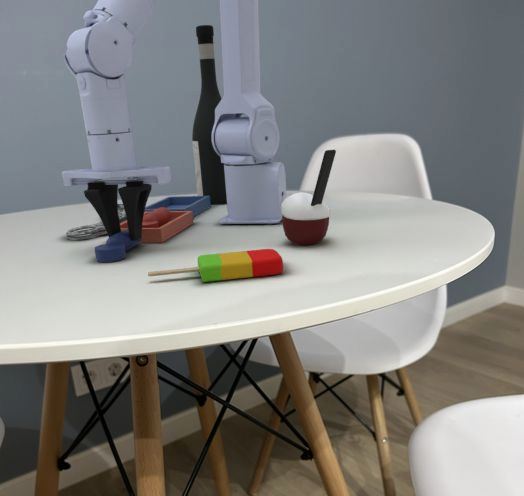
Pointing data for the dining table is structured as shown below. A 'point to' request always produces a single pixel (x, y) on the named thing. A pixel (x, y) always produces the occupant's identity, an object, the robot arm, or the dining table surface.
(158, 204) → the blue tray
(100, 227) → the marbled grey crescent
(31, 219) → the dining table surface
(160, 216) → the red lobed piece
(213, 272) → the popsicle
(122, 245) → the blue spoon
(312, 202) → the cocoa
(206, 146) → the wine bottle
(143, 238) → the red tray
